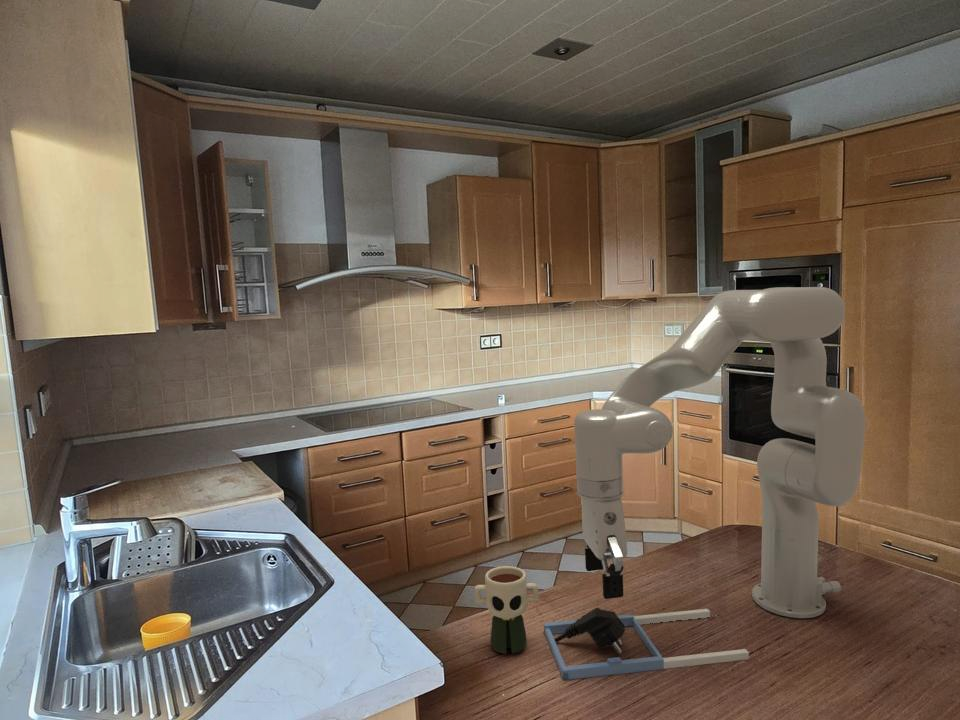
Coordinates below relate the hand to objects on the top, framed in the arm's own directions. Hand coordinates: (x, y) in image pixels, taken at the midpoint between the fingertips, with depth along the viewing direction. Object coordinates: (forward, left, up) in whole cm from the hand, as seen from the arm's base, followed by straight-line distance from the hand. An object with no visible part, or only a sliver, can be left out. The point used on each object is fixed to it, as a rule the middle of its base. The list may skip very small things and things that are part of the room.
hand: (603, 582), depth 104 cm
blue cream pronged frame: (-6, 0, -12) cm, 13 cm away
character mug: (+16, -3, -12) cm, 20 cm away
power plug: (+2, -1, -12) cm, 12 cm away
